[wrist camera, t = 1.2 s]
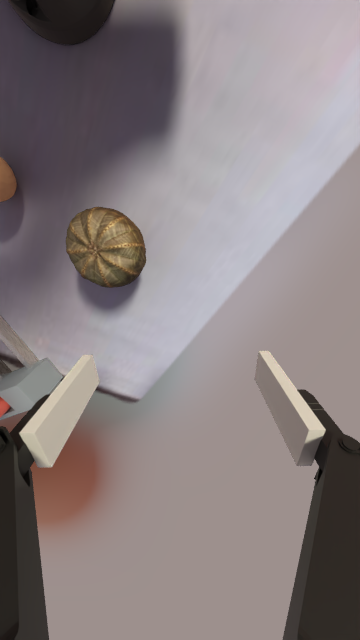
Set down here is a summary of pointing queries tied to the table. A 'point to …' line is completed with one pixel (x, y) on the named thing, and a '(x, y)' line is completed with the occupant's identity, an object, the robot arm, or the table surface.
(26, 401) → the cabinet
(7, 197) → the egg
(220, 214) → the table surface
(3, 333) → the rails
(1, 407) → the button
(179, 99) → the table surface
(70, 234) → the shell
